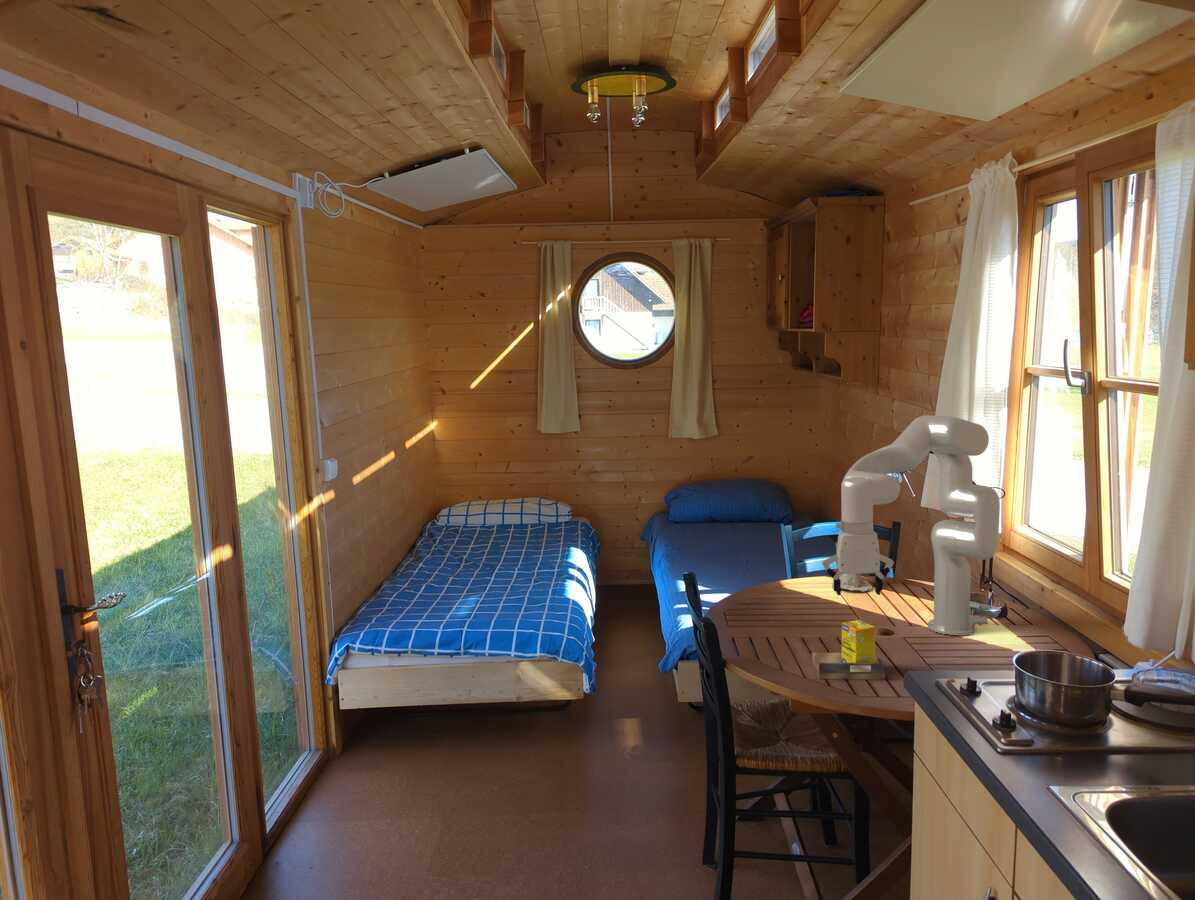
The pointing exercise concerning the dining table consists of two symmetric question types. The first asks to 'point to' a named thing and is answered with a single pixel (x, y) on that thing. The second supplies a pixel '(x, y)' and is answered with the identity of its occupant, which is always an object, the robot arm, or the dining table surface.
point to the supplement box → (858, 642)
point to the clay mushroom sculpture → (853, 582)
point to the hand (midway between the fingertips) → (857, 593)
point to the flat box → (846, 668)
